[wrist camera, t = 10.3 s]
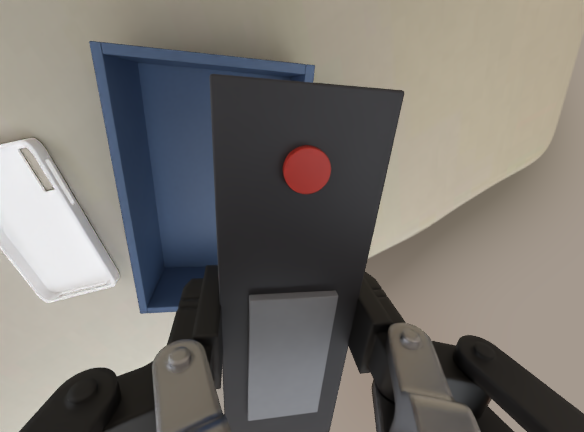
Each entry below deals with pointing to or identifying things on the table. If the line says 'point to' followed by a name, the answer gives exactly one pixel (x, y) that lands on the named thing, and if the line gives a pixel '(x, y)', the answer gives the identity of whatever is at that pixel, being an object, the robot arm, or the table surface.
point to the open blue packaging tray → (168, 157)
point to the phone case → (48, 229)
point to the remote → (293, 238)
